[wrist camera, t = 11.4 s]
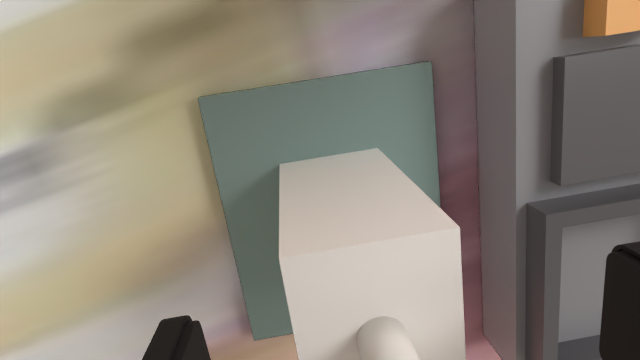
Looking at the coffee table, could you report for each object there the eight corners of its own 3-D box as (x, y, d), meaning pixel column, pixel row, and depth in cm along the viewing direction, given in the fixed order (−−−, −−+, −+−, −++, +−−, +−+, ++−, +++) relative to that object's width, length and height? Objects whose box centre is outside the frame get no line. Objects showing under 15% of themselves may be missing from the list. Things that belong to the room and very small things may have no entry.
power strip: (647, -40, 16) (769, -71, 12) (617, 308, 21) (697, 369, 17) (473, -14, 16) (538, -38, 12) (483, 333, 21) (532, 401, 17)
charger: (377, 148, 17) (496, 262, 7) (389, 257, 18) (500, 464, 9) (279, 163, 16) (278, 301, 7) (299, 273, 18) (319, 501, 9)
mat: (426, 61, 16) (431, 61, 16) (441, 298, 20) (446, 305, 19) (200, 96, 16) (197, 98, 15) (254, 332, 19) (254, 340, 19)
